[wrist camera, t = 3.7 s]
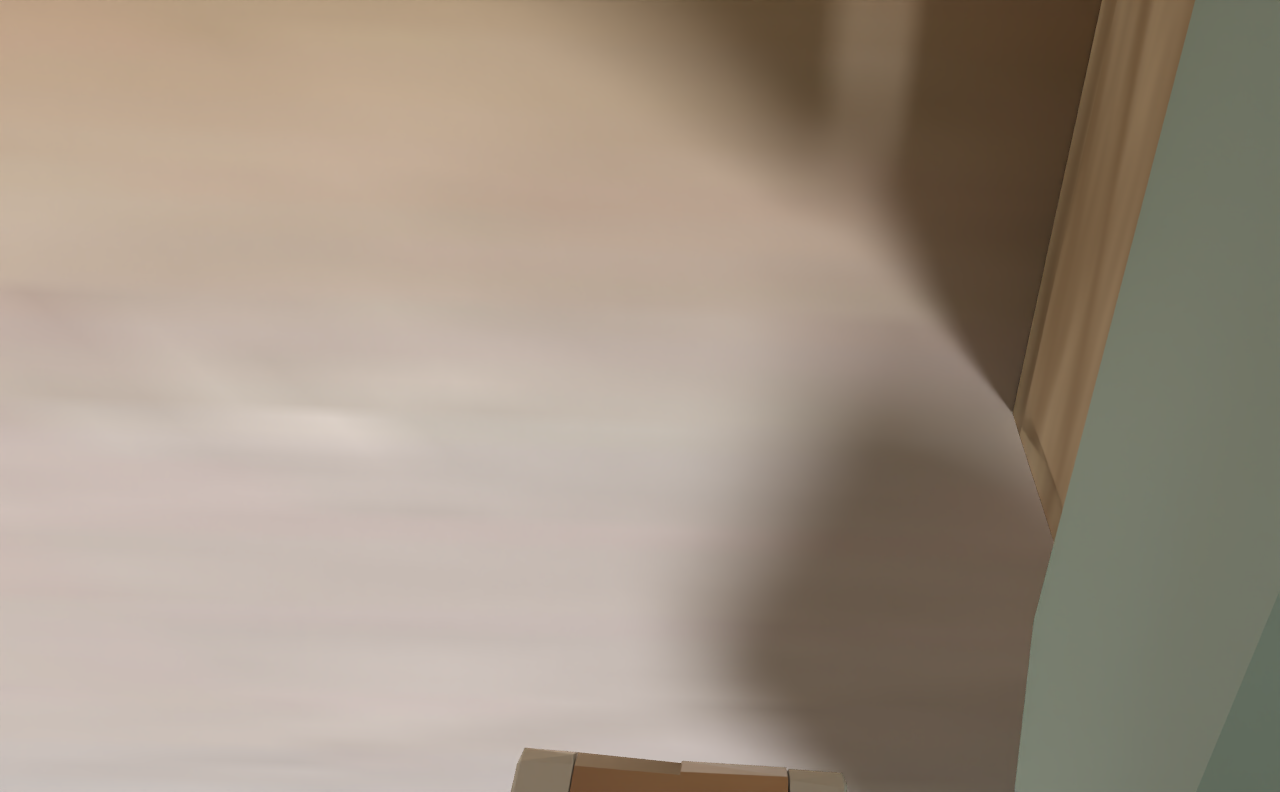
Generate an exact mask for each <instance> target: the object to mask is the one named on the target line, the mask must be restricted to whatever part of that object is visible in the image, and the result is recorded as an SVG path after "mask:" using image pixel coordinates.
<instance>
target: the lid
mask: <svg viewBox="0 0 1280 792" xmlns="http://www.w3.org/2000/svg"><path fill="white" fill-rule="evenodd" d="M1014 792H1280V0H1195V3H1194V7H1193V11H1192V15H1191V19H1190V22H1189V26H1188V30H1187V34H1186V38H1185V42H1184V45H1183V49H1182V53H1181V57H1180V61H1179V65H1178V68H1177V72H1176V76H1175V80H1174V84H1173V88H1172V91H1171V95H1170V99H1169V103H1168V107H1167V111H1166V115H1165V118H1164V122H1163V126H1162V130H1161V134H1160V138H1159V141H1158V145H1157V149H1156V153H1155V157H1154V161H1153V164H1152V168H1151V172H1150V176H1149V180H1148V184H1147V188H1146V191H1145V195H1144V199H1143V203H1142V207H1141V211H1140V214H1139V218H1138V222H1137V226H1136V230H1135V234H1134V237H1133V241H1132V245H1131V249H1130V253H1129V257H1128V260H1127V264H1126V268H1125V272H1124V276H1123V280H1122V284H1121V287H1120V291H1119V295H1118V299H1117V303H1116V307H1115V310H1114V314H1113V318H1112V322H1111V326H1110V330H1109V333H1108V337H1107V341H1106V345H1105V349H1104V353H1103V356H1102V360H1101V364H1100V368H1099V372H1098V376H1097V380H1096V383H1095V387H1094V391H1093V395H1092V399H1091V403H1090V406H1089V410H1088V414H1087V418H1086V422H1085V426H1084V429H1083V433H1082V437H1081V441H1080V445H1079V449H1078V452H1077V456H1076V460H1075V464H1074V468H1073V472H1072V476H1071V479H1070V483H1069V487H1068V491H1067V495H1066V499H1065V502H1064V506H1063V510H1062V514H1061V518H1060V522H1059V525H1058V529H1057V533H1056V537H1055V541H1054V545H1053V548H1052V552H1051V556H1050V560H1049V564H1048V568H1047V572H1046V575H1045V579H1044V583H1043V587H1042V591H1041V595H1040V598H1039V602H1038V606H1037V610H1036V614H1035V618H1034V622H1033V631H1032V640H1031V648H1030V657H1029V666H1028V675H1027V684H1026V693H1025V702H1024V710H1023V719H1022V728H1021V737H1020V746H1019V755H1018V764H1017V773H1016V781H1015V790H1014Z"/></svg>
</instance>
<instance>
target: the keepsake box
mask: <svg viewBox="0 0 1280 792" xmlns="http://www.w3.org/2000/svg"><path fill="white" fill-rule="evenodd" d="M1194 3H1195V0H1102V3H1101V7H1100V12H1099V17H1098V21H1097V26H1096V30H1095V35H1094V40H1093V44H1092V49H1091V54H1090V58H1089V63H1088V67H1087V72H1086V77H1085V81H1084V86H1083V90H1082V95H1081V100H1080V104H1079V109H1078V114H1077V118H1076V123H1075V127H1074V132H1073V137H1072V141H1071V146H1070V151H1069V155H1068V160H1067V164H1066V169H1065V174H1064V178H1063V183H1062V188H1061V192H1060V197H1059V201H1058V206H1057V211H1056V215H1055V220H1054V224H1053V229H1052V234H1051V238H1050V243H1049V248H1048V252H1047V257H1046V261H1045V266H1044V271H1043V275H1042V280H1041V285H1040V289H1039V294H1038V298H1037V303H1036V308H1035V312H1034V317H1033V321H1032V326H1031V331H1030V335H1029V340H1028V345H1027V349H1026V354H1025V358H1024V363H1023V368H1022V372H1021V377H1020V382H1019V386H1018V391H1017V395H1016V400H1015V405H1014V409H1013V416H1014V420H1015V423H1016V426H1017V429H1018V432H1019V435H1020V438H1021V441H1022V445H1023V448H1024V451H1025V454H1026V457H1027V460H1028V463H1029V466H1030V469H1031V473H1032V476H1033V479H1034V482H1035V485H1036V488H1037V491H1038V494H1039V497H1040V501H1041V504H1042V507H1043V510H1044V513H1045V516H1046V519H1047V522H1048V525H1049V529H1050V532H1051V535H1052V538H1053V541H1055V537H1056V533H1057V529H1058V525H1059V522H1060V518H1061V514H1062V510H1063V506H1064V502H1065V499H1066V495H1067V491H1068V487H1069V483H1070V479H1071V476H1072V472H1073V468H1074V464H1075V460H1076V456H1077V452H1078V449H1079V445H1080V441H1081V437H1082V433H1083V429H1084V426H1085V422H1086V418H1087V414H1088V410H1089V406H1090V403H1091V399H1092V395H1093V391H1094V387H1095V383H1096V380H1097V376H1098V372H1099V368H1100V364H1101V360H1102V356H1103V353H1104V349H1105V345H1106V341H1107V337H1108V333H1109V330H1110V326H1111V322H1112V318H1113V314H1114V310H1115V307H1116V303H1117V299H1118V295H1119V291H1120V287H1121V284H1122V280H1123V276H1124V272H1125V268H1126V264H1127V260H1128V257H1129V253H1130V249H1131V245H1132V241H1133V237H1134V234H1135V230H1136V226H1137V222H1138V218H1139V214H1140V211H1141V207H1142V203H1143V199H1144V195H1145V191H1146V188H1147V184H1148V180H1149V176H1150V172H1151V168H1152V164H1153V161H1154V157H1155V153H1156V149H1157V145H1158V141H1159V138H1160V134H1161V130H1162V126H1163V122H1164V118H1165V115H1166V111H1167V107H1168V103H1169V99H1170V95H1171V91H1172V88H1173V84H1174V80H1175V76H1176V72H1177V68H1178V65H1179V61H1180V57H1181V53H1182V49H1183V45H1184V42H1185V38H1186V34H1187V30H1188V26H1189V22H1190V19H1191V15H1192V11H1193V7H1194Z"/></svg>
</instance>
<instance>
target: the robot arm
mask: <svg viewBox="0 0 1280 792" xmlns="http://www.w3.org/2000/svg"><path fill="white" fill-rule="evenodd" d="M511 792H847V784H846V781H845V779H844V777H843V775H842V773H837V772H823V771H809V770H795V769H789V770H788V771H787V769H786V767H771V766H755V765H739V764H723V763H707V762H691V761H682V763H675V762H665V761H656V760H646V759H637V758H627V757H618V756H608V755H599V754H589V753H579V752H568V751H557V750H545V749H533V748H525V749H524V751H523V753H522V755H521V757H520V759H519V761H518V763H517V767H516V771H515V776H514V780H513V785H512V789H511Z"/></svg>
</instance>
